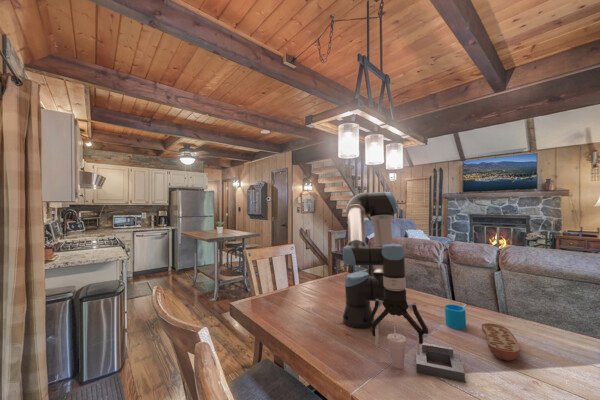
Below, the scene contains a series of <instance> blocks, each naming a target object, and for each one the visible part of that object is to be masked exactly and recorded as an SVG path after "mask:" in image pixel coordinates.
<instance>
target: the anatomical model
mask: <svg viewBox="0 0 600 400" xmlns="http://www.w3.org/2000/svg"><path fill="white" fill-rule="evenodd" d="M480 327H481V330H482V332H483V334H484V335H485V337H486V338H487V339H486V340H487V346H488V349H489V351H490V353H492V354H493V355H494V356H495V357H496V358H498V359H500V360H503V361H513V360H515V359H516V358H517V357H518V356H519V353H520V346H519V345H520V344H519V342H518V339H517V337H515V335H514V334H513V333H512V332H511V331H510V330H509V329H508V328H507V327H505V326H503V325H501V324H495V323H489V322H487V323H482V324H481V325H480Z"/></svg>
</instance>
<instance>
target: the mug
mask: <svg viewBox="0 0 600 400" xmlns="http://www.w3.org/2000/svg"><path fill="white" fill-rule="evenodd" d="M444 316H445V326H446V327H448V328H451V329H453V330H466V328H467V317H466V316H467V315H466V308H465V307H464V306H462V305H458V304H445V305H444Z"/></svg>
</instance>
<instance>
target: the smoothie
mask: <svg viewBox="0 0 600 400" xmlns="http://www.w3.org/2000/svg"><path fill="white" fill-rule="evenodd" d="M396 326H397V325H396V324H394V325H393V333H390V334H388V335H387V339H386V340H387V342H388V347H389V351H390V358H391V363H392V367H393V368H396V369H404V367H405V351H406V344H407V342H408V341H407V337H406V336H404V335H402V334H400V333H397V329H396Z"/></svg>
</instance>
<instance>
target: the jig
mask: <svg viewBox="0 0 600 400" xmlns="http://www.w3.org/2000/svg"><path fill="white" fill-rule="evenodd" d="M427 360H429V361H433V362H438V363H442V364H448V365H449V366H446V365H441V364H436V363H430V362H428V361H427ZM415 365H416V366H415V367H416V373H417V374H422V375H427V376H430V377H431V376H432V377H435V378H440V379H445V380H449V381H450V380H451V381H455V382H459V383H462V384H463V383H464V384H466V372H465V369H464V366H463V362H462V359H461V356H460V354H457V353H454V348H453V347H449V346H445V345H437V344H434V343H433V344H432V343H427V342H423V344H421V347H420V355H417V346H416V347H415Z"/></svg>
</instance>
